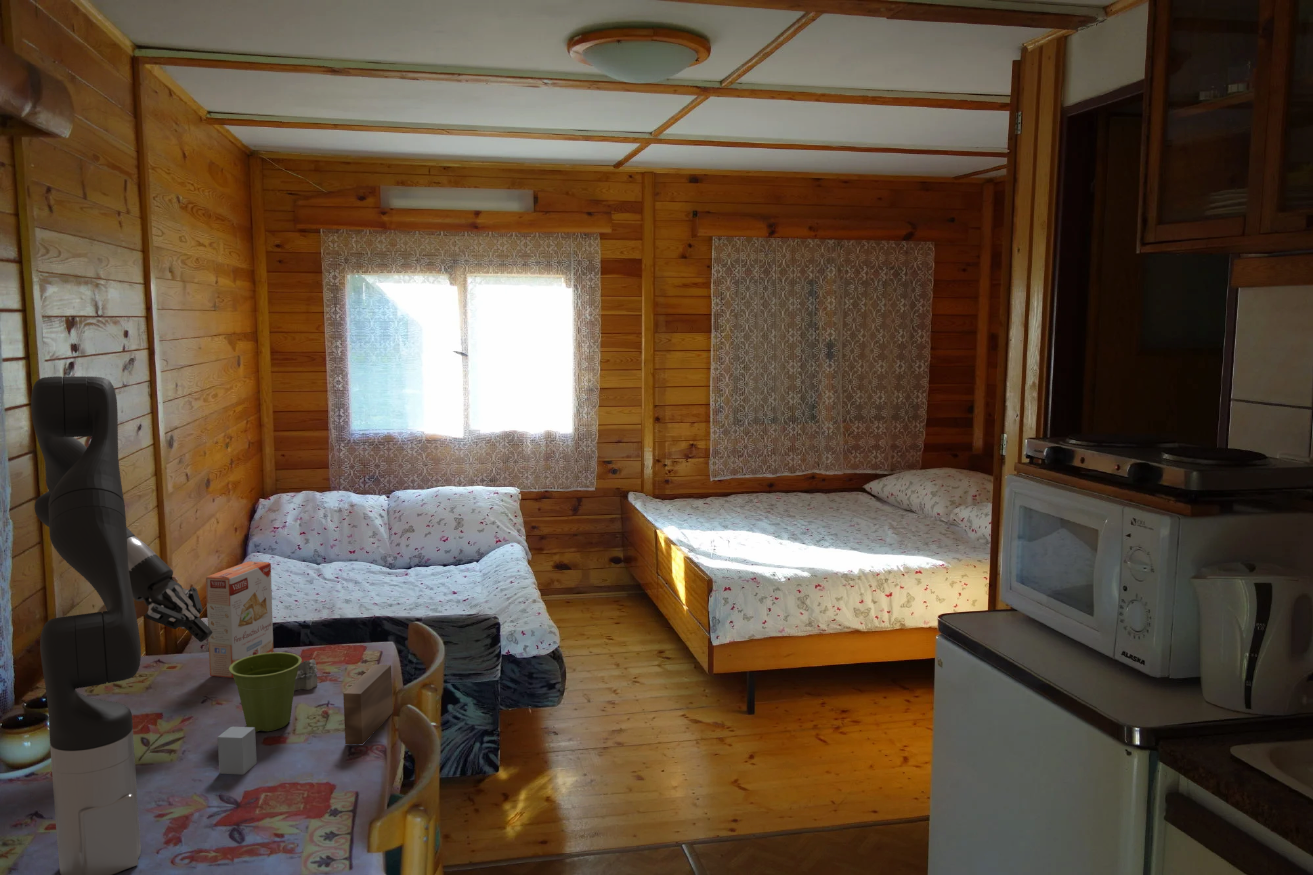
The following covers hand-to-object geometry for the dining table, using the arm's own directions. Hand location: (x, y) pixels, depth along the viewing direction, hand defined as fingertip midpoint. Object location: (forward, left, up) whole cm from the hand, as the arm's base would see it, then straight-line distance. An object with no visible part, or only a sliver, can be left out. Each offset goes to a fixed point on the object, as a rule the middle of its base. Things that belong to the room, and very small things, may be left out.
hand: (207, 637), depth 167 cm
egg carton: (+8, -20, -16) cm, 27 cm away
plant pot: (-8, -6, -16) cm, 19 cm away
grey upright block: (-21, +5, -16) cm, 27 cm away
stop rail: (-23, -18, -16) cm, 33 cm away
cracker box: (+25, -16, -16) cm, 34 cm away
